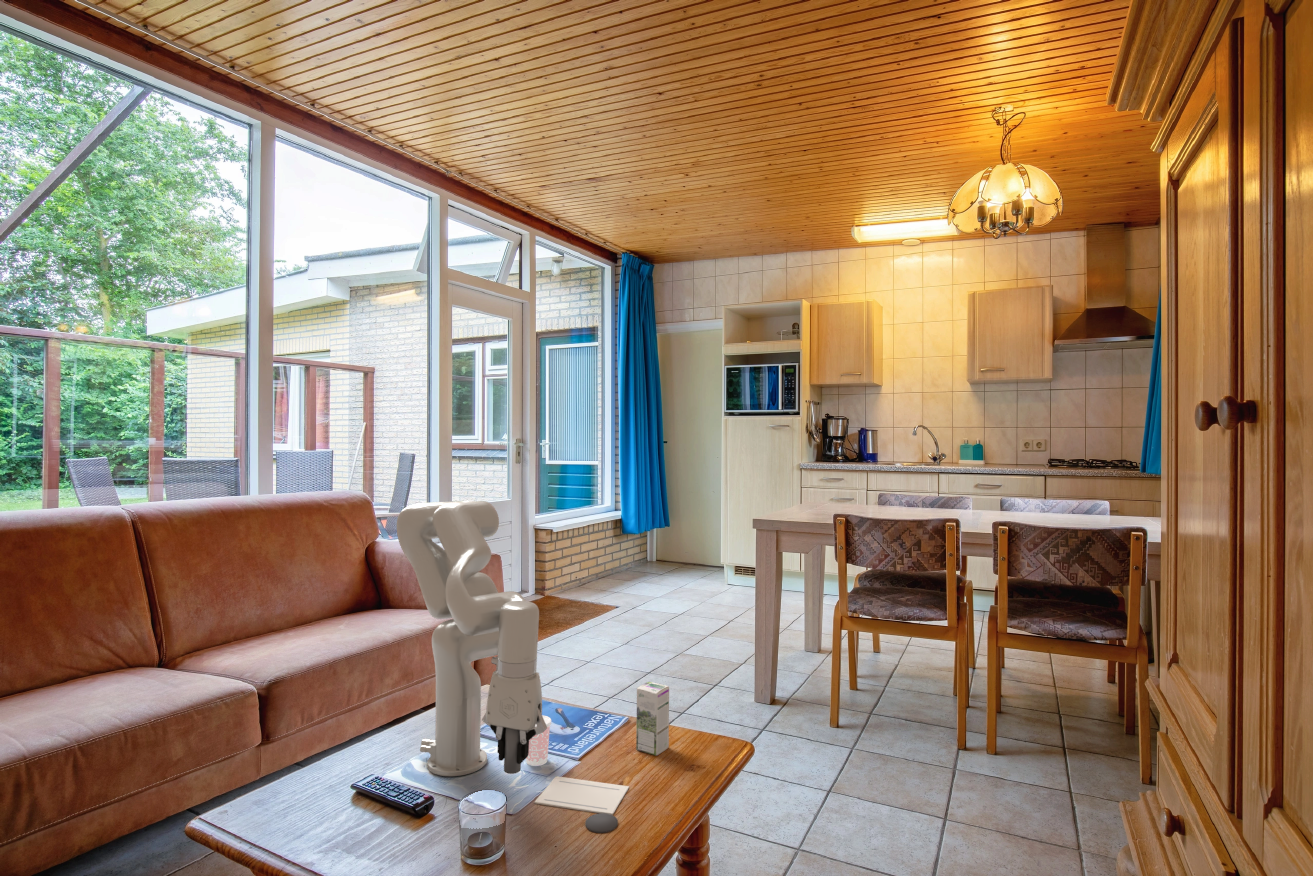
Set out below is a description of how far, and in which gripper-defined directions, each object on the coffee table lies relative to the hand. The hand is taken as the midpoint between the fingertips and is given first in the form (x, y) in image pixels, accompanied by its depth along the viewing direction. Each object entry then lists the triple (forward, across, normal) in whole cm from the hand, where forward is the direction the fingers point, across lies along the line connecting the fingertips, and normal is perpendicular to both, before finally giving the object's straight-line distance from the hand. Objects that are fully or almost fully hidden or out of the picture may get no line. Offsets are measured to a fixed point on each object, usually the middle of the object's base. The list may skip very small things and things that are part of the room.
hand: (512, 758), depth 139 cm
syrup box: (+9, +21, +31) cm, 38 cm away
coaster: (+8, +20, -2) cm, 21 cm away
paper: (+9, +13, +6) cm, 17 cm away
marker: (+2, 0, 0) cm, 2 cm away
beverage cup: (+10, -2, +18) cm, 21 cm away
